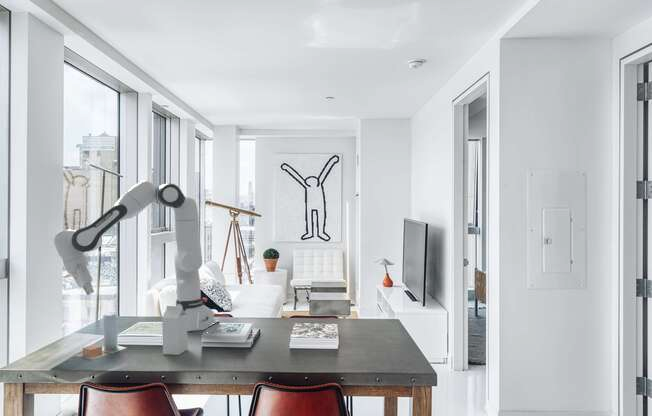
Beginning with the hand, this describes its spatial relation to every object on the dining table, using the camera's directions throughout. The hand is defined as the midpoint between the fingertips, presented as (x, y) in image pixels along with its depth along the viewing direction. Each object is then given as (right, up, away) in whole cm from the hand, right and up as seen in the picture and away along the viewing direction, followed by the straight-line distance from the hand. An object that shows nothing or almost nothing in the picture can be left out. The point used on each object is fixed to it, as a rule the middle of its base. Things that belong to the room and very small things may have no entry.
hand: (90, 293), depth 199 cm
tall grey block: (+15, -20, -12) cm, 28 cm away
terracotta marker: (+11, -21, -19) cm, 30 cm away
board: (+13, -22, -15) cm, 29 cm away
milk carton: (+42, -21, -14) cm, 49 cm away
